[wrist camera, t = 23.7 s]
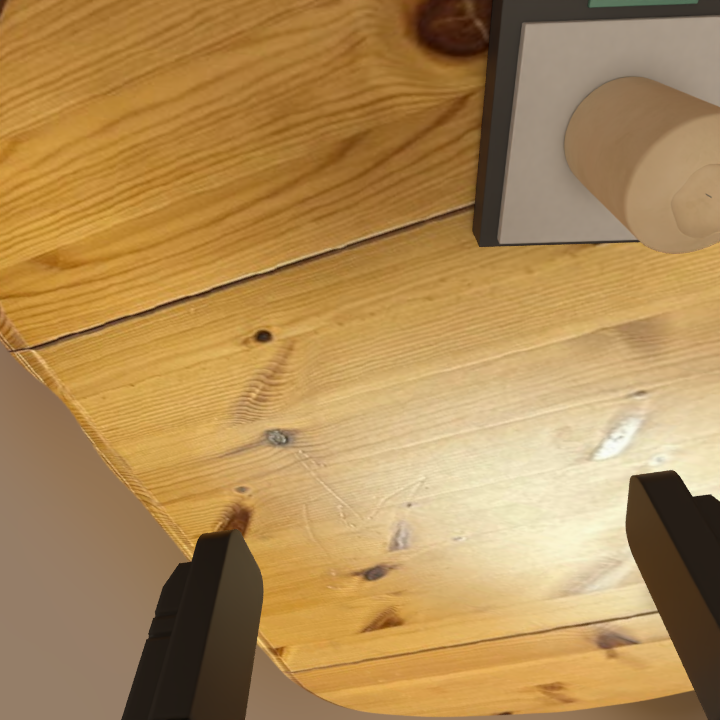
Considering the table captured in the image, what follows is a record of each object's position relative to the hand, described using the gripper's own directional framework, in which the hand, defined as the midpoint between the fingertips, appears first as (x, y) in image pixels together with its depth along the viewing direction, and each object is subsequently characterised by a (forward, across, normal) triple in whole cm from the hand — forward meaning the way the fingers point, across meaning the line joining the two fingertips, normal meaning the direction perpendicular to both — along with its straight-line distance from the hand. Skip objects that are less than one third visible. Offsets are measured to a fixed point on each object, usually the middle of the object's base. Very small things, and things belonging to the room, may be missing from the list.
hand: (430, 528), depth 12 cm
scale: (+26, -12, 0) cm, 29 cm away
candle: (+23, -12, 0) cm, 26 cm away
